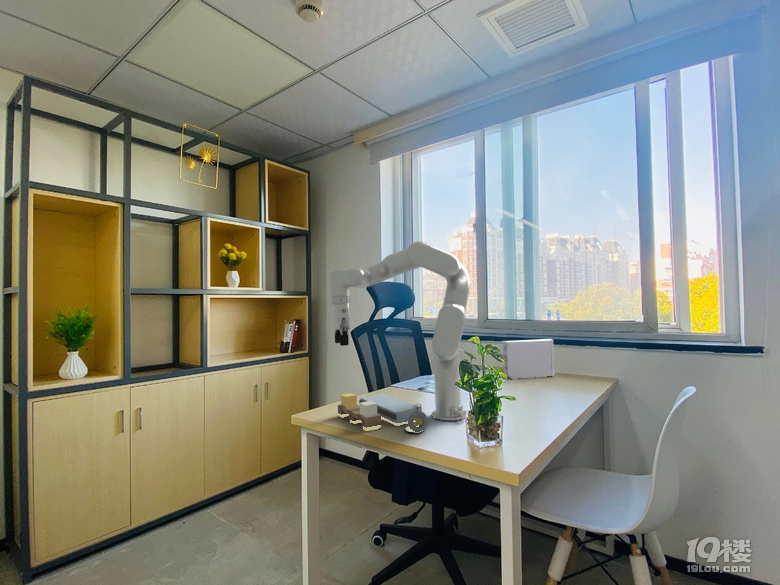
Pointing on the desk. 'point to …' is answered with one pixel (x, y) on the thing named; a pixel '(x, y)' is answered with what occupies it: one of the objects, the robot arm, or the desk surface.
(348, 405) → the mustard box
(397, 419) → the dock
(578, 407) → the desk surface
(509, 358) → the game console
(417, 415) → the pocket watch
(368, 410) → the cream box
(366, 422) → the brown blocks
